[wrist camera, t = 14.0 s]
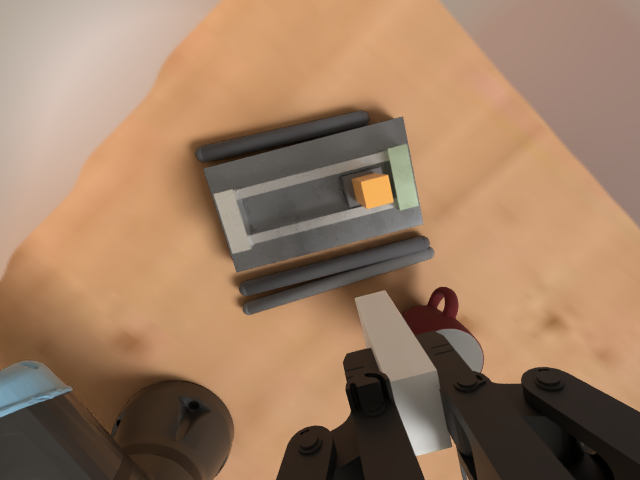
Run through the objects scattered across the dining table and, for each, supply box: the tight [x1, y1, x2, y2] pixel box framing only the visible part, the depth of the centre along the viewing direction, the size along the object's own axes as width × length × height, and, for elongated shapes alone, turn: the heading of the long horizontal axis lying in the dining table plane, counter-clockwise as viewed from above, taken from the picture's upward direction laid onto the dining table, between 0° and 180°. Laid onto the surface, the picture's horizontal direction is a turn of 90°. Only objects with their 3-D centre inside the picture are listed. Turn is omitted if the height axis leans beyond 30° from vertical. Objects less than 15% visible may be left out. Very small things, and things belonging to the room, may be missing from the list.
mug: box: [402, 287, 484, 373], centre depth 41 cm, size 10×8×10 cm
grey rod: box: [239, 236, 430, 296], centre depth 43 cm, size 24×2×2 cm, turn 104°
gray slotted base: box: [203, 117, 423, 272], centre depth 39 cm, size 22×12×6 cm, turn 104°
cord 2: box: [243, 247, 434, 315], centre depth 43 cm, size 25×2×2 cm, turn 107°
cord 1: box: [195, 110, 369, 162], centre depth 39 cm, size 20×2×2 cm, turn 102°
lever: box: [340, 167, 394, 209], centre depth 34 cm, size 4×3×8 cm
